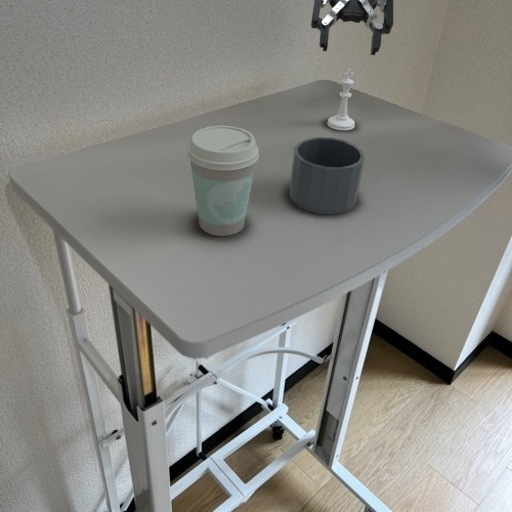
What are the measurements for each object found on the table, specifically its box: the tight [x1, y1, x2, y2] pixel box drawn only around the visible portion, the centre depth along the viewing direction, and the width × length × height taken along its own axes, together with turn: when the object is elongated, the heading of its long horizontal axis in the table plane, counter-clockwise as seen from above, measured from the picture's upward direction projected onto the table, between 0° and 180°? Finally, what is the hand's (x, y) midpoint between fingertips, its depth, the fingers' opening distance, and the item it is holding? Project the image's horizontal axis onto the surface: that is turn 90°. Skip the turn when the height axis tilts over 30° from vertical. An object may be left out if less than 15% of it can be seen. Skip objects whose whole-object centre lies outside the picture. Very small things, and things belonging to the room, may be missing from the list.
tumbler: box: [289, 136, 365, 216], centre depth 76 cm, size 9×9×7 cm
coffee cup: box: [186, 125, 260, 237], centre depth 68 cm, size 8×8×12 cm
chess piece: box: [326, 68, 356, 131], centre depth 97 cm, size 5×5×10 cm
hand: (349, 51), depth 97 cm, fingers open, 8 cm apart
